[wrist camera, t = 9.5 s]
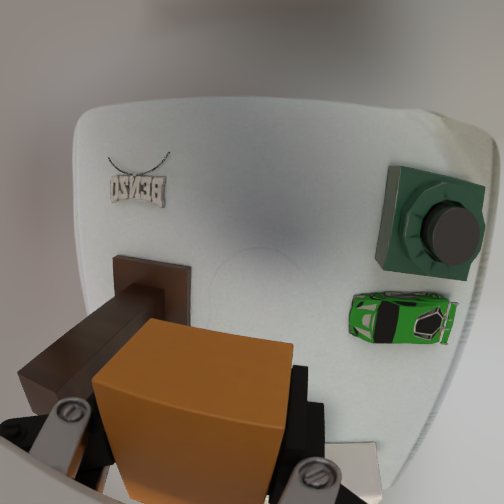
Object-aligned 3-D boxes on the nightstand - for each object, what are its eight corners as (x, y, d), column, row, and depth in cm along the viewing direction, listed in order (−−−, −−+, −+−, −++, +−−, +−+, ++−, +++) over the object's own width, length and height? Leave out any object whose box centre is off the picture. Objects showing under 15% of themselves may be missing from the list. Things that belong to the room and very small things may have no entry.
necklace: (170, 207, 27) (172, 151, 26) (167, 209, 27) (169, 151, 25) (110, 202, 28) (110, 151, 27) (106, 204, 28) (106, 151, 26)
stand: (117, 254, 30) (-13, 329, 13) (191, 266, 29) (78, 374, 12) (122, 324, 32) (22, 421, 16) (189, 340, 31) (108, 466, 15)
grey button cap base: (388, 165, 24) (407, 165, 19) (468, 183, 23) (497, 188, 18) (374, 258, 26) (388, 278, 21) (451, 269, 25) (475, 289, 20)
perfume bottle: (376, 441, 31) (387, 519, 20) (372, 450, 32) (381, 527, 20) (312, 442, 32) (308, 524, 21) (310, 451, 33) (305, 530, 22)
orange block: (150, 316, 10) (89, 379, 6) (293, 342, 9) (285, 428, 6) (162, 438, 11) (129, 498, 8) (268, 461, 11) (255, 532, 7)
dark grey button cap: (427, 199, 19) (438, 202, 18) (471, 209, 19) (484, 213, 17) (417, 253, 21) (427, 261, 19) (461, 260, 20) (473, 268, 18)
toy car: (345, 336, 28) (348, 349, 26) (352, 289, 27) (355, 300, 25) (439, 335, 27) (447, 347, 24) (450, 291, 25) (459, 301, 23)
